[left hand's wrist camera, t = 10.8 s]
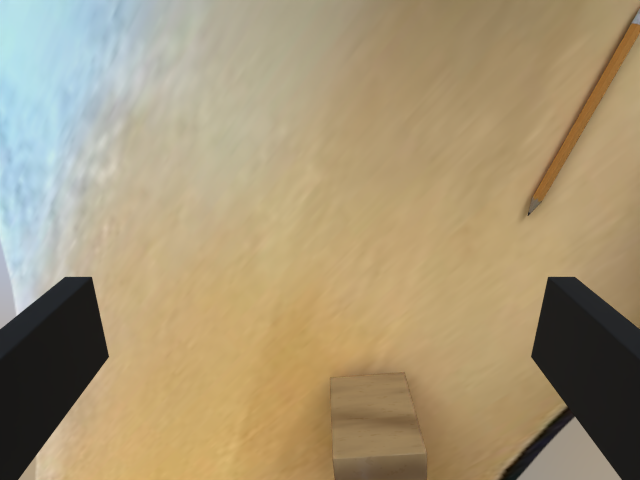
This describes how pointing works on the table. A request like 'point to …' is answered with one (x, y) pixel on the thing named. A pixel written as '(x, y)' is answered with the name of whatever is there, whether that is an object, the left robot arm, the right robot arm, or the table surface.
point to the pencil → (587, 111)
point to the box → (375, 429)
